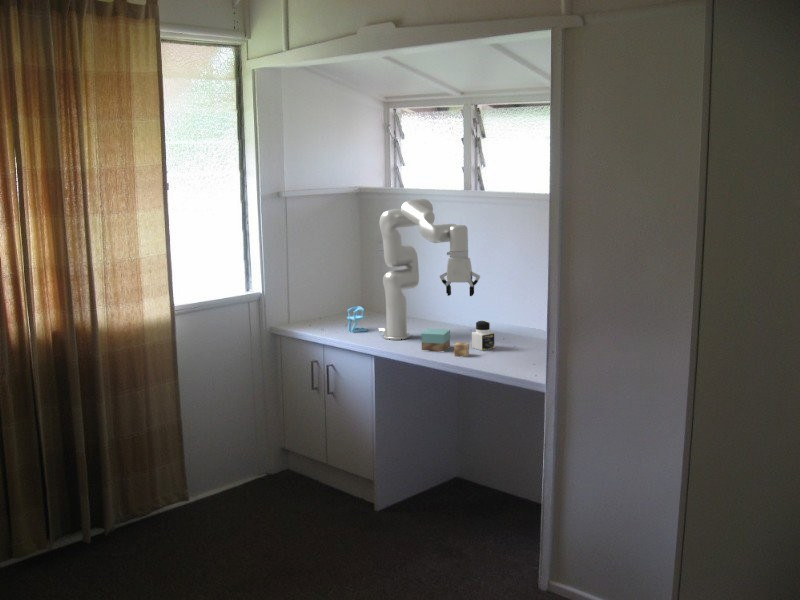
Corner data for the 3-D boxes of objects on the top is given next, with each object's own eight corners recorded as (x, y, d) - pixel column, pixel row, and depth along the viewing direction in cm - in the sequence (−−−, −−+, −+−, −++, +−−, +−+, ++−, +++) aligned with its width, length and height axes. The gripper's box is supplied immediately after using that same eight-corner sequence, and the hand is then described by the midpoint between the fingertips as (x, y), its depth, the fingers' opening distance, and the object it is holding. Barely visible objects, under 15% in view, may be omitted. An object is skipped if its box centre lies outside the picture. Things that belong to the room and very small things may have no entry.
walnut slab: (421, 351, 365) (421, 342, 364) (428, 346, 374) (428, 337, 374) (443, 352, 362) (443, 343, 361) (449, 347, 371) (449, 338, 370)
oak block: (454, 356, 354) (454, 344, 353) (457, 353, 358) (457, 342, 357) (466, 357, 352) (465, 345, 351) (468, 354, 357) (468, 342, 356)
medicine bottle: (482, 350, 361) (482, 323, 359) (471, 348, 367) (471, 321, 365) (494, 348, 366) (494, 321, 363) (483, 345, 371) (483, 319, 369)
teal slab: (421, 342, 364) (421, 333, 364) (428, 337, 374) (428, 328, 373) (443, 343, 361) (443, 334, 360) (450, 338, 370) (450, 329, 370)
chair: (344, 331, 408) (343, 307, 406) (358, 328, 413) (357, 304, 411) (353, 333, 402) (352, 309, 400) (368, 330, 407) (367, 306, 405)
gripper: (436, 255, 348) (437, 296, 350) (477, 256, 342) (478, 297, 345) (441, 253, 355) (443, 293, 357) (481, 253, 349) (482, 294, 352)
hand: (460, 295), depth 351 cm, fingers open, 9 cm apart
